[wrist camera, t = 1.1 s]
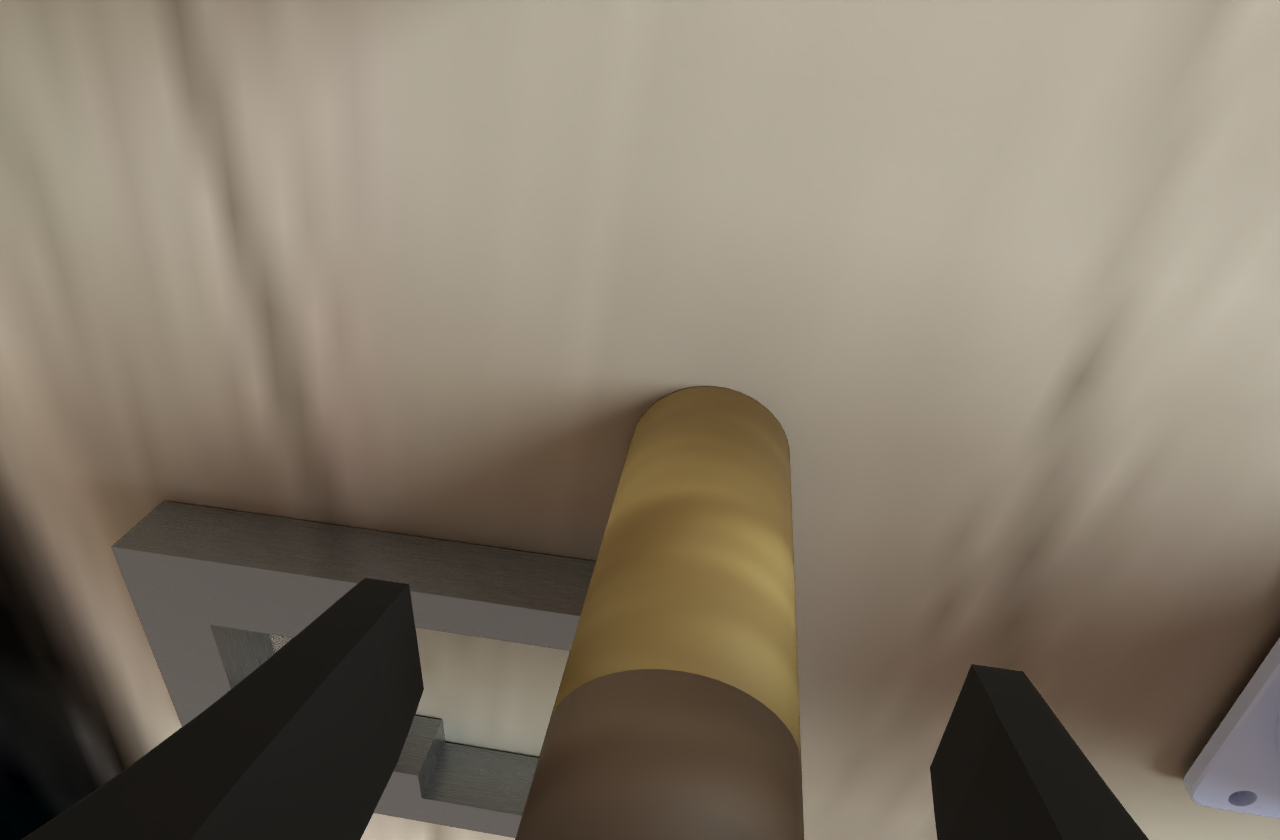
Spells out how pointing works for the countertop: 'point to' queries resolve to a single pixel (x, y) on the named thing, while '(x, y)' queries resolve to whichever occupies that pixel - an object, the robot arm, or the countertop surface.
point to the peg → (684, 643)
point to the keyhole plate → (312, 582)
